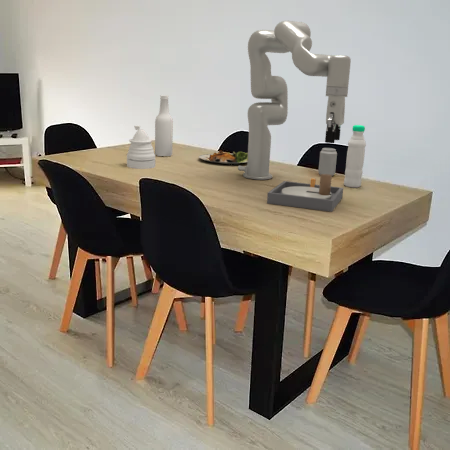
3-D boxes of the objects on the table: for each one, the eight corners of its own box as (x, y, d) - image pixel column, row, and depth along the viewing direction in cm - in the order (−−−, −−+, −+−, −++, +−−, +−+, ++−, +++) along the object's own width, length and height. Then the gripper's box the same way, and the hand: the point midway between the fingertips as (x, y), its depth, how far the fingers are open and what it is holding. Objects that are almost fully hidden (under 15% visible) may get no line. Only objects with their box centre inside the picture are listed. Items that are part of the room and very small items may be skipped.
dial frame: (266, 203, 195) (268, 186, 193) (283, 190, 216) (284, 175, 214) (331, 211, 187) (333, 194, 185) (342, 197, 208) (344, 181, 207)
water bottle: (351, 188, 224) (358, 126, 217) (340, 184, 230) (346, 124, 223) (364, 187, 228) (371, 126, 221) (353, 183, 234) (359, 124, 226)
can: (334, 177, 246) (337, 150, 242) (317, 175, 247) (320, 149, 244) (334, 174, 253) (337, 148, 249) (318, 172, 254) (320, 146, 251)
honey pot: (121, 166, 248) (120, 126, 242) (136, 162, 259) (136, 123, 254) (146, 169, 243) (146, 128, 238) (160, 165, 255) (160, 126, 249)
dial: (275, 197, 196) (277, 174, 193) (288, 188, 212) (289, 166, 209) (326, 204, 190) (328, 180, 187) (335, 193, 206) (337, 171, 204)
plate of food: (266, 162, 274) (266, 150, 273) (229, 168, 254) (229, 155, 253) (224, 156, 292) (224, 145, 291) (186, 161, 272) (187, 148, 271)
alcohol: (171, 157, 276) (172, 96, 268) (153, 156, 276) (154, 95, 268) (173, 154, 285) (174, 95, 276) (156, 153, 285) (156, 94, 276)
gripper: (343, 93, 183) (338, 144, 188) (351, 92, 199) (347, 139, 204) (320, 92, 186) (316, 143, 191) (331, 91, 202) (326, 138, 206)
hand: (332, 141), depth 197 cm, fingers open, 9 cm apart
